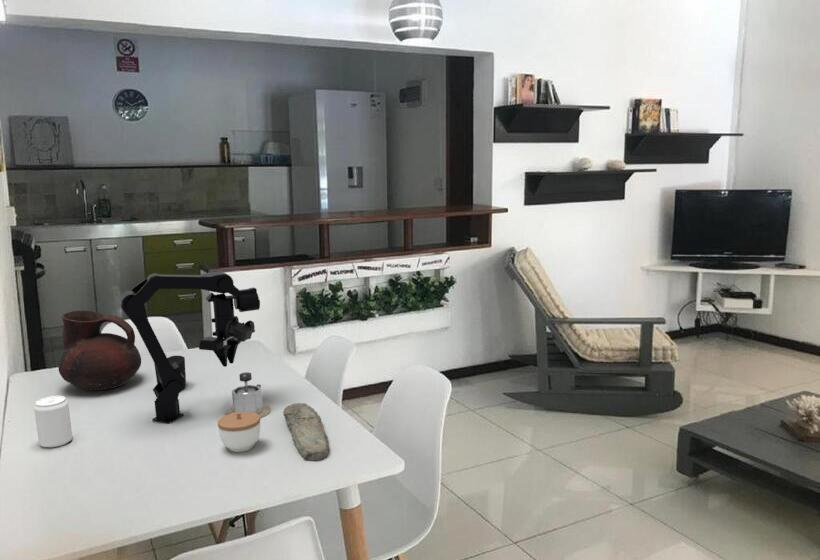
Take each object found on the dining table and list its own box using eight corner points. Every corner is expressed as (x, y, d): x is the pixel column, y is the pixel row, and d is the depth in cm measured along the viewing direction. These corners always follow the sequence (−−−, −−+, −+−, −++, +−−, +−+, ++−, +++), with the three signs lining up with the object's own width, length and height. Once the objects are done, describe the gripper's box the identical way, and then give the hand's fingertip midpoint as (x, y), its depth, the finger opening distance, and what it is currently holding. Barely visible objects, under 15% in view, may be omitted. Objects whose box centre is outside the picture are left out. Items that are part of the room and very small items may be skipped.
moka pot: (254, 423, 194) (252, 399, 192) (216, 418, 198) (214, 395, 197) (279, 406, 206) (277, 384, 204) (242, 402, 210) (240, 380, 209)
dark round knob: (249, 396, 197) (247, 378, 196) (233, 394, 199) (232, 376, 198) (259, 390, 202) (258, 372, 201) (244, 388, 204) (242, 370, 203)
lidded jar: (218, 442, 182) (215, 409, 180) (258, 435, 185) (256, 403, 184) (222, 459, 172) (219, 424, 170) (265, 451, 176) (262, 417, 174)
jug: (117, 400, 215) (108, 323, 210) (44, 397, 219) (34, 322, 214) (157, 374, 239) (150, 304, 235) (92, 372, 243) (83, 304, 239)
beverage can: (35, 450, 180) (29, 407, 177) (43, 438, 187) (37, 397, 185) (69, 446, 182) (64, 403, 179) (75, 434, 189) (70, 393, 187)
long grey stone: (296, 470, 168) (336, 465, 171) (296, 450, 167) (336, 446, 170) (279, 412, 201) (312, 409, 204) (279, 395, 199) (313, 392, 202)
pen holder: (162, 384, 228) (159, 356, 227) (190, 383, 229) (188, 355, 227) (153, 394, 219) (150, 364, 217) (182, 393, 220) (179, 363, 218)
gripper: (228, 323, 191) (232, 377, 194) (264, 308, 208) (268, 358, 211) (195, 321, 195) (199, 373, 198) (234, 306, 212) (237, 355, 215)
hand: (228, 364), depth 205 cm, fingers open, 3 cm apart
